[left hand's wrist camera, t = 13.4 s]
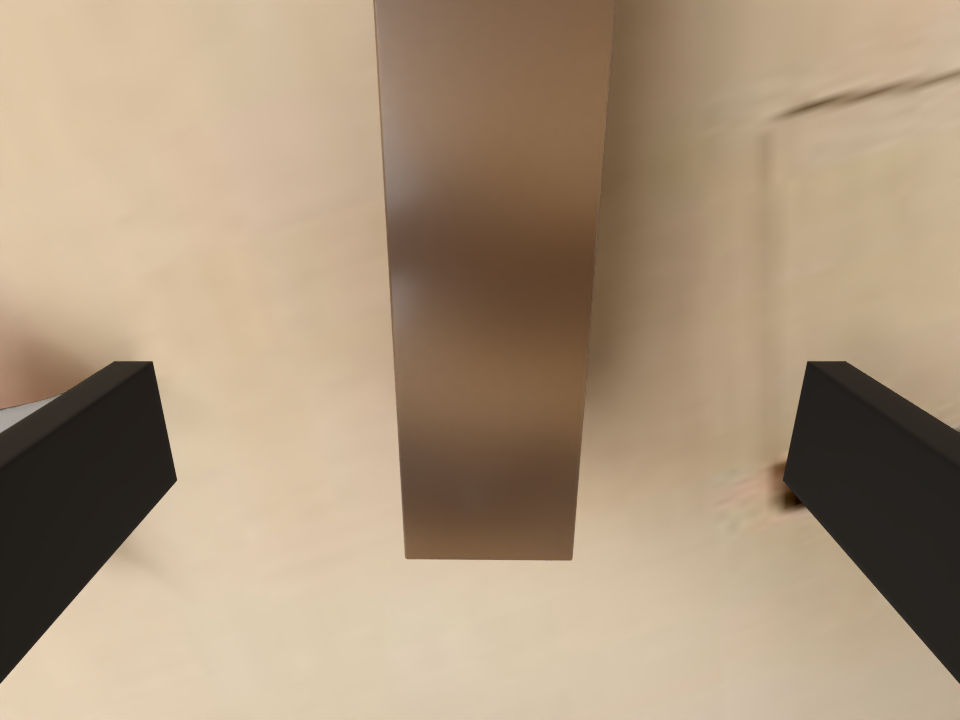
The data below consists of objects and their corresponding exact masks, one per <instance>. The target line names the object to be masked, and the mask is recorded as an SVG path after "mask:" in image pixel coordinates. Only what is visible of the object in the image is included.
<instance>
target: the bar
mask: <svg viewBox="0 0 960 720" xmlns="http://www.w3.org/2000/svg"><path fill="white" fill-rule="evenodd" d="M615 1H616V0H373V2H374V19H375V37H376V54H377V72H378V90H379V107H380V125H381V142H382V160H383V178H384V195H385V213H386V230H387V248H388V266H389V283H390V301H391V318H392V336H393V353H394V371H395V389H396V406H397V424H398V441H399V459H400V477H401V494H402V512H403V529H404V547H405V558H406V559H459V560H572V558H573V545H574V532H575V519H576V506H577V493H578V480H579V467H580V454H581V441H582V428H583V415H584V402H585V389H586V377H587V364H588V351H589V338H590V325H591V312H592V299H593V286H594V273H595V260H596V247H597V234H598V221H599V208H600V195H601V182H602V169H603V156H604V143H605V130H606V118H607V105H608V92H609V79H610V66H611V53H612V40H613V27H614V14H615Z"/></svg>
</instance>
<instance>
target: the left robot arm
mask: <svg viewBox="0 0 960 720" xmlns="http://www.w3.org/2000/svg"><path fill="white" fill-rule="evenodd" d="M176 481H177V477H176V472H175V468H174V463H173V458H172V453H171V448H170V443H169V438H168V434H167V429H166V424H165V419H164V414H163V409H162V405H161V400H160V395H159V390H158V385H157V380H156V375H155V371H154V366H153V361H114V362H113V363H111V364H109V365H108V366H106V367H105V368H103V369H102V370H100V371H98V372H97V373H95V374H94V375H92V376H90V377H89V378H87V379H86V380H84V381H82V382H81V383H79V384H78V385H76V386H74V387H73V388H71V389H70V390H68V391H66V392H65V393H63V394H62V395H60V396H58V397H57V398H55V399H54V400H52V401H51V402H49V403H47V404H46V405H44V406H43V407H41V408H39V409H38V410H36V411H35V412H33V413H31V414H30V415H28V416H27V417H25V418H23V419H22V420H20V421H19V422H17V423H15V424H14V425H12V426H11V427H9V428H7V429H6V430H4V431H3V432H1V433H0V683H1V682H2V681H3V680H4V679H5V678H6V677H7V675H8V674H9V673H10V672H11V671H12V670H13V668H14V667H15V666H16V665H17V664H18V663H19V662H20V660H21V659H22V658H23V657H24V656H25V655H26V654H27V652H28V651H29V650H30V649H31V648H32V647H33V645H34V644H35V643H36V642H37V641H38V640H39V639H40V637H41V636H42V635H43V634H44V633H45V632H46V631H47V629H48V628H49V627H50V626H51V625H52V624H53V622H54V621H55V620H56V619H57V618H58V617H59V616H60V614H61V613H62V612H63V611H64V610H65V609H66V608H67V606H68V605H69V604H70V603H71V602H72V601H73V599H74V598H75V597H76V596H77V595H78V594H79V593H80V591H81V590H82V589H83V588H84V587H85V586H86V585H87V583H88V582H89V581H90V580H91V579H92V578H93V576H94V575H95V574H96V573H97V572H98V571H99V570H100V568H101V567H102V566H103V565H104V564H105V563H106V562H107V560H108V559H109V558H110V557H111V556H112V555H113V553H114V552H115V551H116V550H117V549H118V548H119V547H120V545H121V544H122V543H123V542H124V541H125V540H126V539H127V537H128V536H129V535H130V534H131V533H132V532H133V530H134V529H135V528H136V527H137V526H138V525H139V524H140V522H141V521H142V520H143V519H144V518H145V517H146V516H147V514H148V513H149V512H150V511H151V510H152V509H153V507H154V506H155V505H156V504H157V503H158V502H159V501H160V499H161V498H162V497H163V496H164V495H165V494H166V493H167V491H168V490H169V489H170V488H171V487H172V486H173V484H174V483H175V482H176ZM783 481H784V482H785V483H786V484H787V486H788V487H789V488H790V489H791V490H792V491H793V493H794V494H795V495H796V496H797V497H798V498H799V499H800V501H801V502H802V503H803V504H804V505H805V506H806V507H807V509H808V510H809V511H810V512H811V513H812V514H813V516H814V517H815V518H816V519H817V520H818V521H819V522H820V524H821V525H822V526H823V527H824V528H825V529H826V530H827V532H828V533H829V534H830V535H831V536H832V537H833V539H834V540H835V541H836V542H837V543H838V544H839V545H840V547H841V548H842V549H843V550H844V551H845V552H846V553H847V555H848V556H849V557H850V558H851V559H852V560H853V562H854V563H855V564H856V565H857V566H858V567H859V568H860V570H861V571H862V572H863V573H864V574H865V575H866V576H867V578H868V579H869V580H870V581H871V582H872V583H873V585H874V586H875V587H876V588H877V589H878V590H879V591H880V593H881V594H882V595H883V596H884V597H885V598H886V599H887V601H888V602H889V603H890V604H891V605H892V606H893V608H894V609H895V610H896V611H897V612H898V613H899V614H900V616H901V617H902V618H903V619H904V620H905V621H906V622H907V624H908V625H909V626H910V627H911V628H912V629H913V631H914V632H915V633H916V634H917V635H918V636H919V637H920V639H921V640H922V641H923V642H924V643H925V644H926V645H927V647H928V648H929V649H930V650H931V651H932V652H933V654H934V655H935V656H936V657H937V658H938V659H939V660H940V662H941V663H942V664H943V665H944V666H945V667H946V668H947V670H948V671H949V672H950V673H951V674H952V675H953V677H954V678H955V679H956V680H957V681H958V682H959V683H960V433H959V432H957V431H956V430H954V429H953V428H951V427H949V426H948V425H946V424H945V423H943V422H941V421H940V420H938V419H937V418H935V417H933V416H932V415H930V414H929V413H927V412H925V411H924V410H922V409H921V408H919V407H917V406H916V405H914V404H913V403H911V402H909V401H908V400H906V399H905V398H903V397H902V396H900V395H898V394H897V393H895V392H894V391H892V390H890V389H889V388H887V387H886V386H884V385H882V384H881V383H879V382H878V381H876V380H874V379H873V378H871V377H870V376H868V375H866V374H865V373H863V372H862V371H860V370H858V369H857V368H855V367H854V366H852V365H851V364H849V363H847V362H846V361H807V366H806V371H805V375H804V380H803V385H802V390H801V395H800V400H799V405H798V409H797V414H796V419H795V424H794V429H793V434H792V438H791V443H790V448H789V453H788V458H787V463H786V468H785V472H784V477H783Z"/></svg>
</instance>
